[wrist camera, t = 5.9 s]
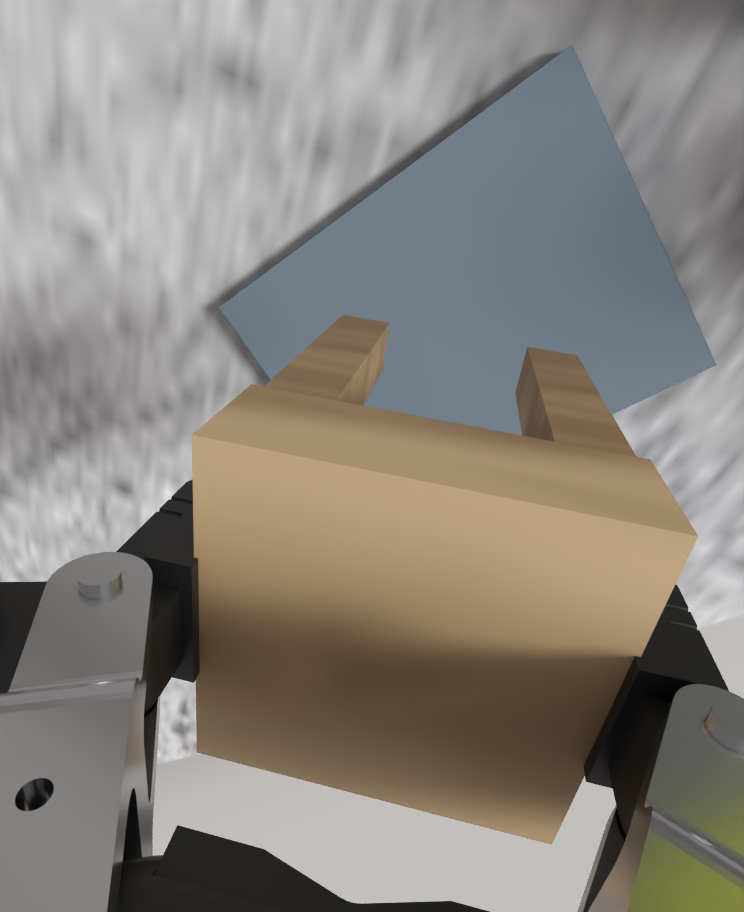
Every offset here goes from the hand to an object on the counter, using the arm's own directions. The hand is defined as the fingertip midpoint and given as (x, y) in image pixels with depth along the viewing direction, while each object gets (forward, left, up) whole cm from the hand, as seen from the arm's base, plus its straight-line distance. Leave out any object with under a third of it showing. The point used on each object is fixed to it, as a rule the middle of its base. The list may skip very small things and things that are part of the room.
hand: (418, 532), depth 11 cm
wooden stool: (0, 0, -5) cm, 5 cm away
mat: (0, 0, -18) cm, 18 cm away
